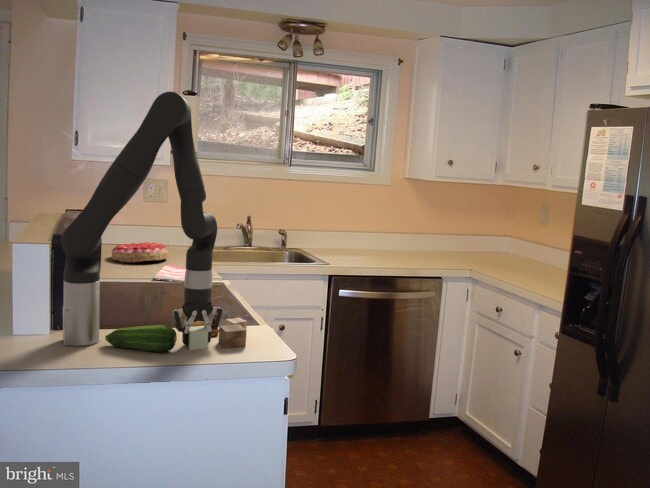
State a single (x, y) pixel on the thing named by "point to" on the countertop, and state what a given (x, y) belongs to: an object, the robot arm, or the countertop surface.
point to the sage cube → (198, 337)
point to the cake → (139, 252)
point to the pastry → (200, 323)
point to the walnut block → (232, 336)
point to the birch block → (237, 322)
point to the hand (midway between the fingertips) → (196, 344)
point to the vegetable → (144, 338)
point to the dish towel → (171, 273)
